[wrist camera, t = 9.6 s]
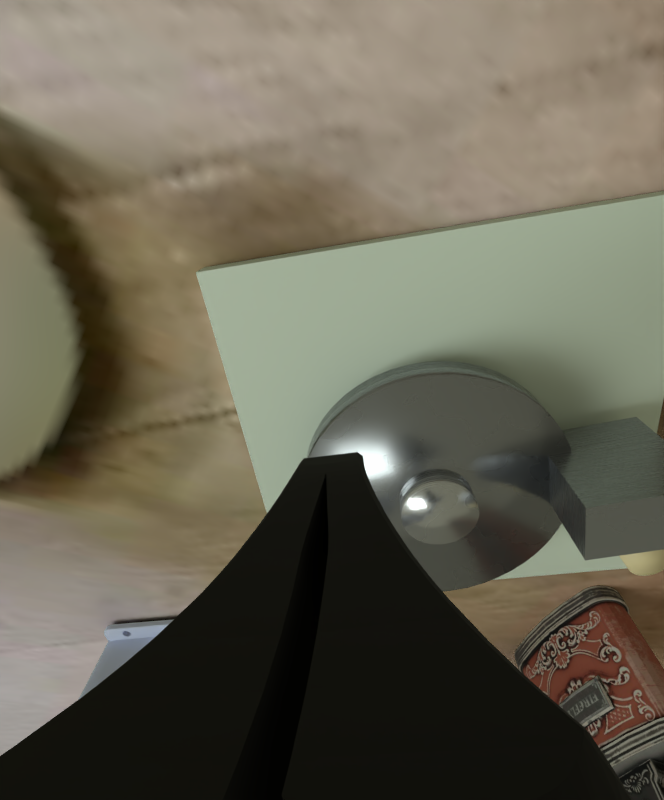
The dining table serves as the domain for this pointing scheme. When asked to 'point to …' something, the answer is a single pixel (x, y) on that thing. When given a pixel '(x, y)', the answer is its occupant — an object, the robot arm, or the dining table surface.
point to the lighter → (604, 683)
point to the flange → (494, 471)
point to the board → (453, 329)
